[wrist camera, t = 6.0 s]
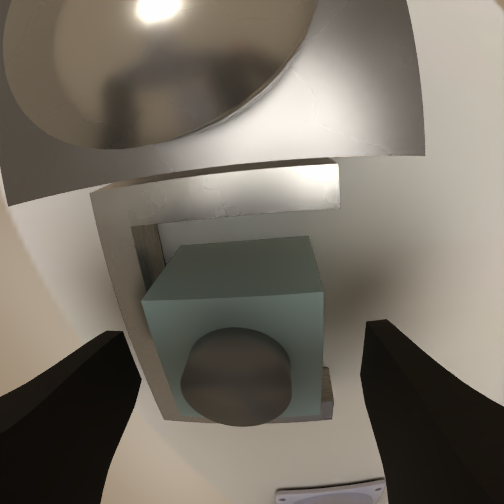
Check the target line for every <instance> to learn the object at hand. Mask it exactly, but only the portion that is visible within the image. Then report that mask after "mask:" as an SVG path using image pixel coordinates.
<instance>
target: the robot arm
mask: <svg viewBox="0 0 504 504" xmlns="http://www.w3.org/2000/svg"><path fill="white" fill-rule="evenodd" d="M360 377H361V382H362V388H363V394H364V400H365V405H366V408H367V412H368V415H369V418H370V422H371V425H372V429H373V432H374V436H375V439H376V442H377V446H378V449H379V453H380V457H381V460H382V464H383V468H384V473H385V478H386V481H385V480H378V481H372V482H366V483H360V484H354V485H346V486H338V487H329V488H319V489H306V490H287V491H278V492H276V493H275V499H276V504H376V503H377V501H378V499H379V497H380V495H381V494H382V492H383V490H384V488H385V486H387V494H388V502H389V504H504V407H503V406H502V405H500V404H498V403H496V402H494V401H492V400H491V399H489V398H487V397H486V396H484V395H483V394H481V393H479V392H478V391H476V390H474V389H473V388H471V387H470V386H468V385H467V384H465V383H464V382H462V381H461V380H460V379H458V378H457V377H456V376H454V375H453V374H452V373H450V372H449V371H448V370H446V369H445V368H444V367H442V366H441V365H440V364H439V363H437V362H436V361H435V360H434V359H432V358H431V357H430V356H429V355H427V354H426V353H425V352H424V351H423V350H422V349H420V348H419V347H418V346H417V345H416V344H415V343H413V342H412V341H411V340H410V339H409V338H408V337H407V336H405V335H404V334H403V333H402V332H401V331H400V330H399V329H398V328H396V327H395V326H394V325H393V324H392V323H391V322H389V321H388V320H387V319H384V320H376V321H367V322H366V330H365V339H364V348H363V357H362V365H361V372H360ZM141 380H142V379H141V377H140V374H139V372H138V369H137V367H136V364H135V362H134V359H133V357H132V354H131V352H130V349H129V346H128V344H127V341H126V338H125V336H124V333H123V331H105V332H104V333H102V334H100V335H98V336H97V337H95V338H94V339H92V340H90V341H89V342H87V343H86V344H84V345H83V346H82V347H80V348H79V349H77V350H76V351H75V352H73V353H72V354H70V355H68V356H67V357H66V358H64V359H63V360H61V361H60V362H58V363H57V364H55V365H54V366H52V367H51V368H49V369H48V370H46V371H45V372H43V373H42V374H40V375H38V376H37V377H35V378H34V379H32V380H31V381H29V382H27V383H26V384H24V385H22V386H20V387H19V388H17V389H15V390H13V391H11V392H9V393H8V394H5V395H3V396H1V397H0V504H100V503H101V497H102V493H103V488H104V485H105V481H106V476H107V473H108V469H109V466H110V463H111V461H112V458H113V456H114V453H115V451H116V448H117V446H118V444H119V442H120V439H121V437H122V434H123V432H124V430H125V427H126V425H127V423H128V421H129V418H130V416H131V413H132V411H133V409H134V406H135V403H136V399H137V396H138V392H139V388H140V384H141Z"/></svg>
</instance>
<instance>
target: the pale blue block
mask: <svg viewBox="0 0 504 504" xmlns="http://www.w3.org/2000/svg"><path fill="white" fill-rule="evenodd" d="M141 303H142V306H143V309H144V313H145V316H146V319H147V323H148V326H149V329H150V332H151V335H152V338H153V341H154V344H155V347H156V350H157V353H158V356H159V359H160V362H161V365H162V368H163V370H164V373H165V376H166V379H167V381H168V384H169V387H170V389H171V392H172V395H173V397H174V400H175V402H176V405H177V407H178V410H179V412H180V415H181V416H191V417H205V418H207V419H209V420H212V421H214V422H217V423H221V424H224V425H229V426H240V427H246V426H256V425H260V424H264V423H267V422H269V421H272V420H274V419H275V418H277V417H297V416H311V415H320V407H321V388H322V363H323V317H324V291H323V288H322V284H321V280H320V276H319V272H318V269H317V265H316V261H315V258H314V254H313V250H312V247H311V243H310V240H309V236H302V237H288V238H274V239H260V240H247V241H234V242H221V243H208V244H196V245H183V246H180V248H179V249H178V250H177V252H176V253H175V254H174V256H173V257H172V259H171V260H170V261H169V263H168V264H167V265H166V267H165V268H164V269H163V271H162V272H161V274H160V275H159V276H158V278H157V279H156V280H155V282H154V283H153V285H152V286H151V287H150V289H149V290H148V292H147V293H146V294H145V296H144V297H143V299H142V300H141Z"/></svg>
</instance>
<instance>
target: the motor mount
mask: <svg viewBox="0 0 504 504" xmlns="http://www.w3.org/2000/svg"><path fill="white" fill-rule="evenodd" d="M348 156H425V135H424V117H423V104H422V93H421V83H420V75H419V67H418V60H417V53H416V47H415V41H414V35H413V30H412V24H411V19H410V15H409V10H408V6H407V1H406V0H0V167H1V173H2V179H3V184H4V189H5V194H6V199H7V203H8V207H9V206H12V205H16V204H20V203H23V202H27V201H31V200H35V199H39V198H43V197H47V196H52V195H56V194H60V193H65V192H69V191H74V190H78V189H83V188H88V187H93V186H97V185H103V184H108V183H112V184H110V185H108V186H105V187H103V188H101V189H98V190H96V191H94V192H92V193H90V197H91V202H92V207H93V211H94V216H95V220H96V225H97V229H98V233H99V237H100V241H101V245H102V249H103V253H104V256H105V260H106V264H107V267H108V271H109V274H110V278H111V281H112V284H113V288H114V291H115V294H116V297H117V300H118V304H119V307H120V310H121V313H122V316H123V319H124V322H125V324H126V327H127V330H128V333H129V336H130V338H131V341H132V344H133V347H134V349H135V352H136V355H137V357H138V360H139V362H140V365H141V367H142V370H143V372H144V375H145V377H146V380H147V382H148V384H149V387H150V389H151V391H152V394H153V396H154V398H155V401H156V403H157V405H158V407H159V410H160V412H161V414H162V416H163V418H164V420H172V421H185V422H201V423H217V422H214V421H212V420H209V419H207V418H205V417H191V416H181V415H180V412H179V410H178V407H177V405H176V402H175V400H174V397H173V395H172V392H171V389H170V387H169V384H168V381H167V379H166V376H165V373H164V370H163V368H162V365H161V362H160V359H159V356H158V353H157V350H156V347H155V344H154V341H153V338H152V335H151V332H150V329H149V326H148V323H147V319H146V316H145V313H144V309H143V306H142V303H141V300H142V299H143V297H144V296H145V294H146V293H147V292H148V290H149V289H150V287H151V286H152V285H153V283H154V282H155V280H156V279H157V278H158V276H159V275H160V274H161V272H162V271H163V269H164V268H165V262H164V258H163V253H162V248H161V244H160V239H159V234H158V229H157V224H158V223H167V222H176V221H186V220H196V219H206V218H217V217H228V216H239V215H251V214H263V213H276V212H289V211H303V210H318V209H333V208H340V191H339V170H338V164H337V163H336V162H334V161H332V160H331V159H329V158H328V157H348ZM113 182H115V183H113ZM333 406H334V398H333V392H332V386H331V380H330V374H329V368H322V388H321V407H320V415H311V416H297V417H277V418H275V419H274V420H272V421H269V422H267V423H290V422H306V421H319V420H329V419H332V415H333Z"/></svg>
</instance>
